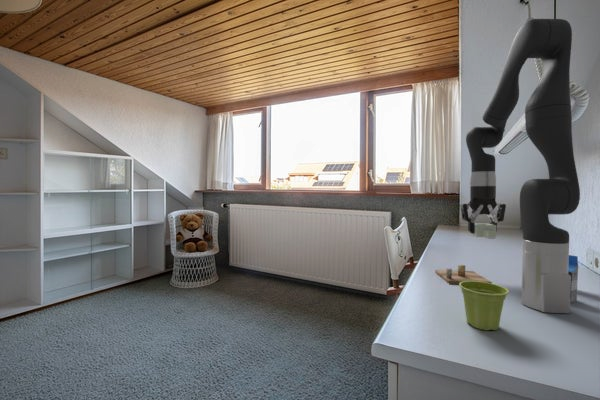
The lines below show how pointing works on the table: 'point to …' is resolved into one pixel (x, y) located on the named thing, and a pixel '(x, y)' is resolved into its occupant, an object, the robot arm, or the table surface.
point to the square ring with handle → (485, 230)
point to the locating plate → (459, 279)
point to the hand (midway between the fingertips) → (482, 233)
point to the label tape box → (573, 276)
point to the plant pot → (483, 303)
